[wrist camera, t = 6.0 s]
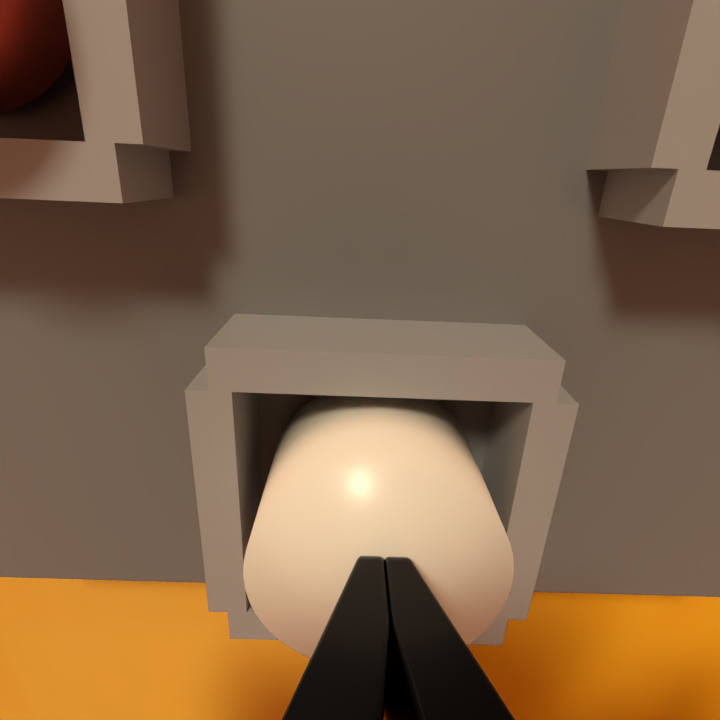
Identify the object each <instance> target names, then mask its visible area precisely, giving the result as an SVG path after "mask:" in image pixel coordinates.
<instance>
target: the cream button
mask: <svg viewBox="0 0 720 720" xmlns="http://www.w3.org/2000/svg"><path fill="white" fill-rule="evenodd" d="M360 556H380V557H382V558H383V559H384V560H385V558H386V557H408V558H409V559H411V561H412V562H413V563H414V565H415V566H416V568H417V569H418V571H419V573H420V574H421V576H422V577H423V579H424V580H425V582H426V583H427V585H428V586H429V588H430V590H431V591H432V593H433V594H434V596H435V597H436V599H437V600H438V602H439V603H440V605H441V607H442V608H443V610H444V611H445V613H446V614H447V616H448V617H449V619H450V620H451V622H452V623H453V625H454V627H455V628H456V630H457V631H458V633H459V634H460V636H461V637H462V639H463V640H464V642H465V644H466V645H468V644H470V643H471V642H473V641H474V640H475V639H476V638H477V637H479V636H480V635H481V634H482V633H483V632H484V631H485V630H486V629H487V628H488V627H489V626H490V625H491V624H492V623H493V622H494V621H495V619H496V618H497V616H498V615H499V613H500V612H501V610H502V609H503V607H504V605H505V603H506V601H507V599H508V596H509V593H510V590H511V586H512V582H513V575H514V559H513V553H512V549H511V544H510V541H509V539H508V537H507V534H506V532H505V529H504V527H503V525H502V522H501V520H500V517H499V515H498V512H497V510H496V508H495V505H494V503H493V500H492V498H491V496H490V493H489V491H488V488H487V486H486V484H485V481H484V479H483V476H482V474H481V472H480V469H479V467H478V464H477V462H476V460H475V457H474V455H473V452H472V450H471V448H470V445H469V443H468V440H467V438H466V436H465V433H464V431H463V429H462V428H461V426H460V424H459V423H458V421H457V420H456V419H455V417H454V416H453V415H452V414H451V413H450V412H449V411H448V410H447V409H446V408H445V407H444V406H443V405H442V404H441V403H439V402H438V401H436V400H435V399H413V398H385V397H357V396H329V395H320V396H318V397H316V398H315V399H313V400H312V401H310V402H309V403H308V404H306V405H305V406H304V407H302V408H301V409H300V410H299V411H298V412H297V413H296V414H295V415H294V417H293V418H292V419H291V420H290V422H289V423H288V424H287V426H286V428H285V430H284V431H283V433H282V435H281V437H280V440H279V443H278V445H277V449H276V452H275V455H274V459H273V462H272V465H271V469H270V472H269V475H268V479H267V482H266V485H265V488H264V492H263V495H262V498H261V502H260V505H259V508H258V512H257V515H256V518H255V522H254V525H253V528H252V532H251V535H250V538H249V542H248V545H247V548H246V553H245V558H244V564H243V578H244V584H245V590H246V593H247V596H248V599H249V602H250V604H251V606H252V608H253V610H254V612H255V614H256V615H257V617H258V618H259V619H260V621H261V622H262V623H263V625H264V626H265V627H266V628H267V629H268V630H269V631H270V632H271V633H272V634H273V635H274V636H275V637H276V638H277V639H279V640H280V641H281V642H282V643H284V644H285V645H286V646H288V647H290V648H291V649H293V650H294V651H296V652H298V653H300V654H302V655H304V656H306V657H308V658H310V659H311V657H312V655H313V652H314V650H315V648H316V646H317V644H318V642H319V640H320V637H321V635H322V633H323V631H324V629H325V627H326V625H327V622H328V620H329V618H330V616H331V614H332V612H333V610H334V608H335V605H336V603H337V601H338V599H339V597H340V595H341V593H342V590H343V588H344V586H345V584H346V582H347V580H348V578H349V576H350V573H351V571H352V569H353V567H354V565H355V563H356V561H357V559H358V558H359V557H360Z"/></svg>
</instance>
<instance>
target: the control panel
mask: <svg viewBox="0 0 720 720" xmlns="http://www.w3.org/2000/svg"><path fill="white" fill-rule="evenodd" d="M62 1H63V7H64V13H65V19H66V26H67V32H68V38H69V44H70V50H71V56H72V57H71V59H70V61H69V62H68V64H67V65H66V67H65V69H64V70H63V72H62V74H61V75H60V76H59V77H58V78H57V80H56V81H55V82H54V83H53V84H52V85H51V87H50V88H48V89H47V90H46V91H45V92H43V93H42V94H41V95H40V96H39V97H37V98H36V99H34V100H32V101H30V102H29V103H27V104H25V105H23V106H21V107H18V108H15V109H12V110H10V111H6V112H0V577H22V578H58V579H94V580H130V581H166V582H202V583H206V589H207V598H208V607H209V612H228V619H229V630H230V639H268V640H279V639H277V638H276V637H275V636H274V635H273V634H272V633H271V632H270V631H269V630H268V629H267V628H266V627H265V626H264V625H263V623H262V622H261V621H260V619H259V618H258V617H257V615H256V614H255V612H254V610H253V608H252V606H251V604H250V602H249V599H248V596H247V593H246V590H245V584H244V578H243V564H244V558H245V553H246V548H247V545H248V542H249V538H250V535H251V532H252V528H253V525H254V522H255V518H256V515H257V512H258V508H259V505H260V502H261V498H262V495H263V492H264V488H265V485H266V482H267V479H268V475H269V472H270V469H271V465H272V462H273V459H274V455H275V452H276V449H277V445H278V443H279V440H280V437H281V435H282V433H283V431H284V430H285V428H286V426H287V424H288V423H289V422H290V420H291V419H292V418H293V417H294V415H295V414H296V413H297V412H298V411H299V410H300V409H301V408H302V407H304V406H305V405H306V404H308V403H309V402H310V401H312V400H313V399H315V398H316V397H318V396H320V395H329V396H357V397H385V398H413V399H435V400H436V401H438V402H439V403H441V404H442V405H443V406H444V407H445V408H446V409H447V410H448V411H449V412H450V413H451V414H452V415H453V416H454V417H455V419H456V420H457V421H458V423H459V424H460V426H461V428H462V429H463V431H464V433H465V436H466V438H467V440H468V443H469V445H470V448H471V450H472V452H473V455H474V457H475V460H476V462H477V464H478V467H479V469H480V472H481V474H482V476H483V479H484V481H485V484H486V486H487V488H488V491H489V493H490V496H491V498H492V500H493V503H494V505H495V508H496V510H497V512H498V515H499V517H500V520H501V522H502V525H503V527H504V529H505V532H506V534H507V537H508V539H509V541H510V544H511V549H512V553H513V559H514V575H513V582H512V586H511V590H510V593H509V596H508V599H507V601H506V603H505V605H504V607H503V609H502V610H501V612H500V613H499V615H498V616H497V618H496V619H495V621H494V622H493V623H492V624H491V625H490V626H489V627H488V628H487V629H486V630H485V631H484V632H483V633H482V634H481V635H480V636H479V637H477V638H476V639H475V640H474V641H473V642H471V643H470V644H468V645H502V644H503V640H504V635H505V631H506V626H507V622H508V620H527V616H528V612H529V608H530V604H531V600H532V595H533V592H562V593H598V594H634V595H670V596H706V597H720V0H62Z"/></svg>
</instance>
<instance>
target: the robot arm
mask: <svg viewBox="0 0 720 720" xmlns="http://www.w3.org/2000/svg"><path fill="white" fill-rule="evenodd" d="M282 720H515V719H514V718H513V716H512V714H511V713H510V711H509V710H508V708H507V707H506V705H505V704H504V702H503V701H502V699H501V698H500V696H499V694H498V693H497V691H496V690H495V688H494V687H493V685H492V684H491V682H490V681H489V679H488V677H487V676H486V674H485V673H484V671H483V670H482V668H481V667H480V665H479V664H478V662H477V660H476V659H475V657H474V656H473V654H472V653H471V651H470V650H469V648H468V647H467V645H466V644H465V642H464V640H463V639H462V637H461V636H460V634H459V633H458V631H457V630H456V628H455V627H454V625H453V623H452V622H451V620H450V619H449V617H448V616H447V614H446V613H445V611H444V610H443V608H442V607H441V605H440V603H439V602H438V600H437V599H436V597H435V596H434V594H433V593H432V591H431V590H430V588H429V586H428V585H427V583H426V582H425V580H424V579H423V577H422V576H421V574H420V573H419V571H418V569H417V568H416V566H415V565H414V563H413V562H412V561H411V559H409V558H408V557H386V558H385V560H384V559H383V558H382V557H380V556H360V557H359V558H358V559H357V561H356V563H355V565H354V567H353V569H352V571H351V573H350V576H349V578H348V580H347V582H346V584H345V586H344V588H343V590H342V593H341V595H340V597H339V599H338V601H337V603H336V605H335V608H334V610H333V612H332V614H331V616H330V618H329V620H328V622H327V625H326V627H325V629H324V631H323V633H322V635H321V637H320V640H319V642H318V644H317V646H316V648H315V650H314V652H313V655H312V657H311V659H310V661H309V663H308V665H307V667H306V669H305V672H304V674H303V676H302V678H301V680H300V682H299V684H298V687H297V689H296V691H295V693H294V695H293V697H292V699H291V701H290V704H289V706H288V708H287V710H286V712H285V714H284V716H283V719H282Z"/></svg>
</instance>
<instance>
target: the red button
mask: <svg viewBox="0 0 720 720" xmlns="http://www.w3.org/2000/svg"><path fill="white" fill-rule="evenodd" d="M71 57H72V56H71V50H70V44H69V38H68V32H67V26H66V19H65V13H64V7H63V1H62V0H0V112H6V111H10V110H12V109H15V108H18V107H21V106H23V105H25V104H27V103H29V102H30V101H32V100H34V99H36V98H37V97H39V96H40V95H41V94H42V93H43V92H45V91H46V90H47V89H48V88H50V87H51V85H52V84H53V83H54V82H55V81H56V80H57V78H58V77H59V76H60V75H61V74H62V72H63V70H64V69H65V67H66V65H67V64H68V62H69V61H70V59H71Z"/></svg>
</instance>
